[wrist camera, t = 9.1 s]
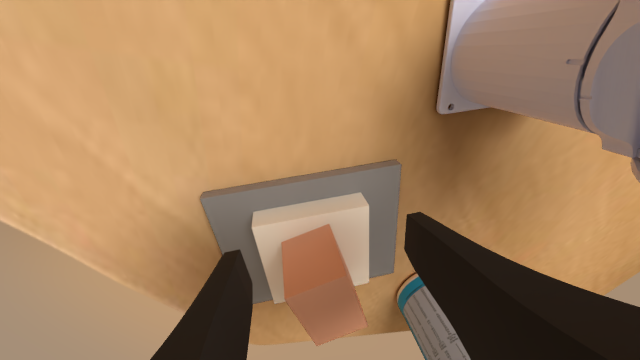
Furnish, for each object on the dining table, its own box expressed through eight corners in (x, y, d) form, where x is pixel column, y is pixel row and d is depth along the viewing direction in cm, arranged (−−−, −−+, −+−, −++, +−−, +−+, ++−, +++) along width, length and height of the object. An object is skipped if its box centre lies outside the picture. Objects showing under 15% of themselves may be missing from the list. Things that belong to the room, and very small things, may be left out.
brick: (329, 223, 19) (346, 275, 15) (348, 271, 22) (368, 326, 18) (281, 242, 19) (284, 299, 15) (307, 287, 22) (316, 346, 18)
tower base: (395, 159, 21) (413, 175, 18) (389, 265, 27) (402, 288, 24) (203, 192, 19) (192, 214, 16) (244, 297, 25) (241, 325, 23)
